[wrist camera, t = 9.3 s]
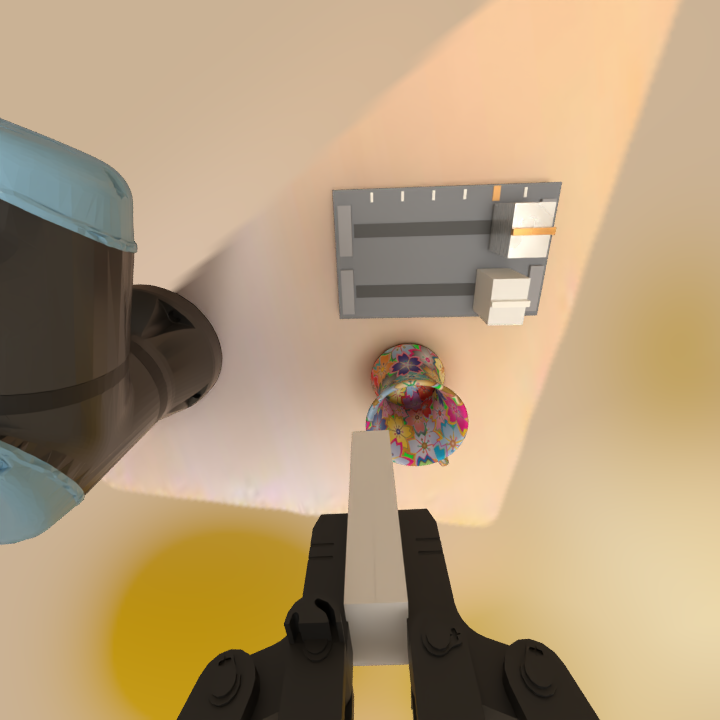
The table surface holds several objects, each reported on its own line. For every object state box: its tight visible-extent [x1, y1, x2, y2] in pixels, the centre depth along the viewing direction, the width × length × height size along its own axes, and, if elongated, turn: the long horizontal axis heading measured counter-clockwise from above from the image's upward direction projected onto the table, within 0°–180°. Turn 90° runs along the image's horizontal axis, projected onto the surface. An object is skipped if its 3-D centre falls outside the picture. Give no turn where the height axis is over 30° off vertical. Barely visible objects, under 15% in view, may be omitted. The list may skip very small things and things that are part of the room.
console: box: [333, 182, 562, 325], centre depth 31 cm, size 20×12×8 cm, turn 92°
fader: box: [489, 202, 556, 258], centre depth 29 cm, size 3×4×6 cm
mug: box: [366, 344, 468, 466], centre depth 37 cm, size 12×9×11 cm
